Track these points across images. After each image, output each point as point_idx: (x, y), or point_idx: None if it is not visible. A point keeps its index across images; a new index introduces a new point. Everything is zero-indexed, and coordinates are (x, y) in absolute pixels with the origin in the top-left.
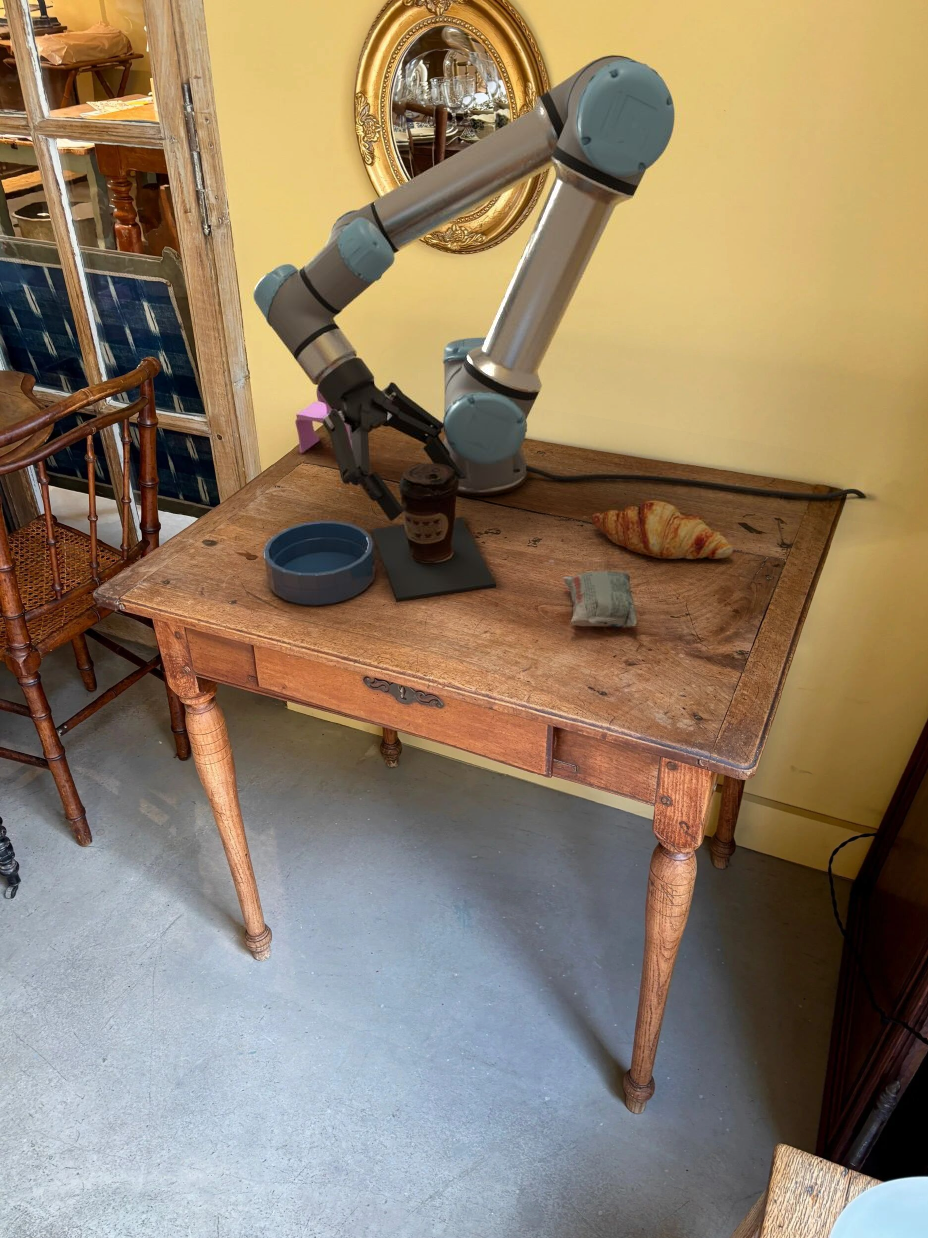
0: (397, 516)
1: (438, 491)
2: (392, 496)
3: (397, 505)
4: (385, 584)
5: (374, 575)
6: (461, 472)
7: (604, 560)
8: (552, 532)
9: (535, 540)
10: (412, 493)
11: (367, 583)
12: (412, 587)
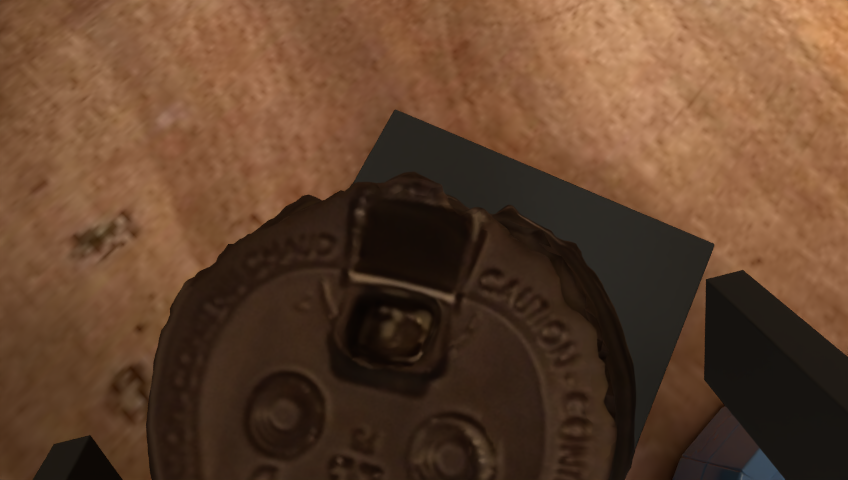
0: (705, 349)
1: (450, 203)
2: (808, 352)
3: (767, 300)
4: (682, 368)
5: (705, 429)
6: (47, 456)
7: (65, 31)
8: (12, 245)
9: (91, 243)
10: (609, 326)
11: None
12: (629, 261)
